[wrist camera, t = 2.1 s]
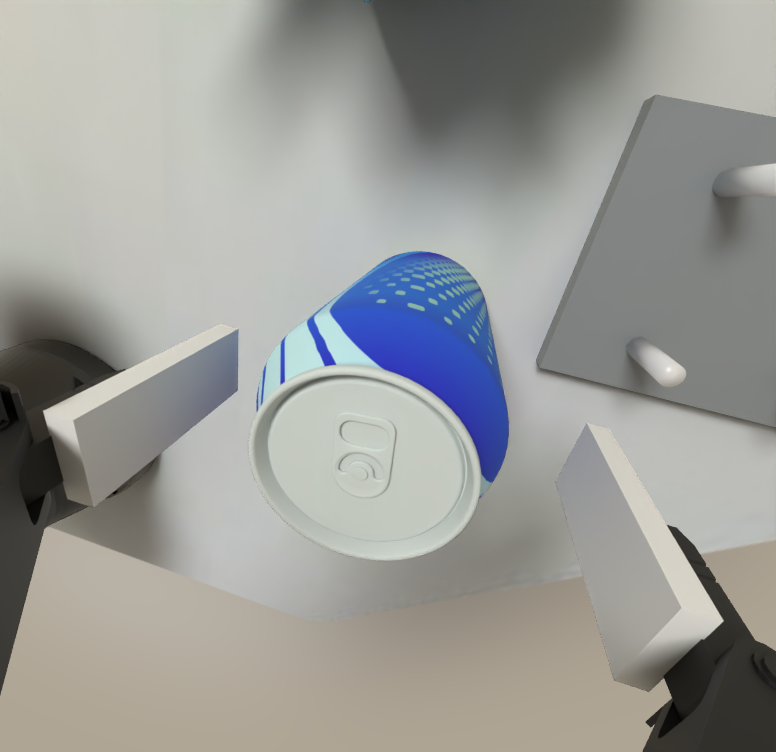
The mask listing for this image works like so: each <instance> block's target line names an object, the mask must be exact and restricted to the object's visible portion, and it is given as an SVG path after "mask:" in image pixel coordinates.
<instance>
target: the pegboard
mask: <svg viewBox="0 0 776 752" xmlns="http://www.w3.org/2000/svg"><path fill="white" fill-rule="evenodd" d="M536 361H537V363H538V365H539V368H543V369H547V370H551V371H555V372H559V373H563V374H567V375H571V376H575V377H579V378H583V379H587V380H591V381H595V382H599V383H602V384H606V385H610V386H614V387H618V388H622V389H626V390H630V391H634V392H638V393H642V394H646V395H650V396H654V397H658V398H662V399H666V400H670V401H673V402H677V403H681V404H685V405H689V406H693V407H697V408H701V409H705V410H709V411H713V412H717V413H721V414H725V415H729V416H733V417H737V418H741V419H744V420H748V421H752V422H756V423H760V424H764V425H768V426H772V427H776V117H770V116H765V115H760V114H755V113H749V112H744V111H739V110H734V109H728V108H723V107H718V106H713V105H707V104H702V103H697V102H692V101H687V100H681V99H676V98H671V97H666V96H660V95H655V96H653V97H651V98H649V99H647V100H645V101H644V104H643V106H642V109H641V111H640V113H639V116H638V118H637V121H636V123H635V125H634V128H633V130H632V133H631V135H630V137H629V140H628V142H627V144H626V147H625V149H624V152H623V154H622V156H621V159H620V161H619V164H618V166H617V168H616V171H615V173H614V175H613V178H612V180H611V183H610V185H609V187H608V190H607V192H606V195H605V197H604V199H603V202H602V204H601V207H600V209H599V211H598V214H597V216H596V218H595V221H594V223H593V226H592V228H591V230H590V233H589V235H588V238H587V240H586V242H585V245H584V247H583V250H582V252H581V254H580V257H579V259H578V261H577V264H576V266H575V269H574V271H573V273H572V276H571V278H570V281H569V283H568V285H567V288H566V290H565V293H564V295H563V297H562V300H561V302H560V304H559V307H558V309H557V312H556V314H555V316H554V319H553V321H552V324H551V326H550V328H549V331H548V333H547V335H546V338H545V340H544V343H543V345H542V347H541V350H540V352H539V355H538V357H537V359H536Z"/></svg>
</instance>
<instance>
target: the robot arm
mask: <svg viewBox="0 0 776 752" xmlns="http://www.w3.org/2000/svg"><path fill="white" fill-rule="evenodd" d="M236 391H238V329H237V328H234V327H230V326H226V325H222V324H218V325H216V326H214V327H212V328H210V329H208V330H206V331H204V332H202V333H200V334H198V335H196V336H194V337H192V338H190V339H188V340H186V341H184V342H182V343H180V344H178V345H176V346H174V347H172V348H170V349H168V350H166V351H164V352H162V353H160V354H158V355H156V356H153V357H151V358H149V359H147V360H145V361H143V362H141V363H139V364H137V365H135V366H133V367H131V368H129V369H127V370H126V369H124V370H120V371H116V372H115V371H114V370H113V369H111V368H110V367H109V366H108V365H106V364H105V363H104V362H102V361H101V360H99V359H98V358H96V357H95V356H93V355H91V354H90V353H88V352H86V351H84V350H82V349H80V348H77V347H75V346H72V345H70V344H66V343H63V342H59V341H53V340H34V341H30V342H26V343H23V344H20V345H17V346H14V347H11V348H8V349H5V350H2V351H0V694H1V690H2V687H3V683H4V679H5V675H6V672H7V668H8V664H9V660H10V656H11V653H12V649H13V645H14V641H15V638H16V634H17V630H18V626H19V622H20V619H21V615H22V611H23V607H24V603H25V600H26V596H27V592H28V588H29V585H30V581H31V577H32V573H33V569H34V566H35V562H36V558H37V555H38V551H39V547H40V543H41V539H42V536H43V532H44V529H45V528H46V527H48V526H49V525H51V524H53V523H55V522H57V521H59V520H61V519H64V518H66V517H68V516H70V515H72V514H74V513H76V512H78V511H80V510H82V509H84V508H86V507H88V506H90V507H93V508H94V507H95V506H97V505H98V504H99V503H100V502H101V501H103V500H104V499H106V498H110V497H113V496H115V495H117V494H119V493H121V492H123V491H124V490H126V489H127V488H129V487H130V486H131V485H132V484H133V483H135V482H136V481H137V480H138V479H139V478H140V477H142V476H143V475H144V474H145V473H146V472H147V471H148V470H149V469H150V467H151V465H152V463H153V461H154V458H155V457H157V456H158V455H159V454H160V453H162V452H163V451H164V450H165V449H167V448H168V447H169V446H170V445H171V444H173V443H174V442H175V441H176V440H178V439H179V438H180V437H181V436H182V435H184V434H185V433H186V432H187V431H189V430H190V429H191V428H192V427H193V426H195V425H196V424H197V423H198V422H200V421H201V420H202V419H203V418H205V417H206V416H207V415H208V414H209V413H211V412H212V411H213V410H214V409H216V408H217V407H218V406H219V405H220V404H222V403H223V402H224V401H225V400H227V399H228V398H229V397H230V396H232V395H233V394H234V393H235V392H236ZM555 482H556V485H557V489H558V492H559V496H560V499H561V502H562V506H563V509H564V513H565V516H566V519H567V523H568V526H569V530H570V533H571V536H572V540H573V543H574V546H575V550H576V553H577V557H578V560H579V563H580V567H581V570H582V574H583V577H584V580H585V583H586V587H587V590H588V594H589V597H590V601H591V604H592V607H593V611H594V614H595V618H596V621H597V624H598V628H599V631H600V635H601V638H602V642H603V645H604V648H605V652H606V655H607V658H608V662H609V665H610V668H611V672H612V675H613V678H614V680H615V681H618V682H621V683H624V684H627V685H630V686H633V687H636V688H639V689H642V690H645V691H648V692H649V691H650V690H652V688H654V687H655V686H656V685H657V684H658V683H659V682H660V681H661V680H662V679H663V678H664V679H665V681H666V684H667V686H668V689H669V691H670V694H671V696H672V699H671V700H669V701H668V702H667V703H666V704H665V705H664V706H663V707H662V708H660V709H659V710H658V711H657V712H656V713H655V714H654V715H653V716H651V717H650V718H649V719H648V720H647V721H646V723H647V724H648V725H649V726H650V727H652V726H653V725H654V724H655V726H654V728H653V730H652V732H651V734H650V736H649V739H648V741H647V743H646V745H645V747H644V749H643V752H776V651H775V650H773V649H771V648H770V647H768V646H767V645H765V644H763V643H760V642H757V641H755V639H754V638H753V636H752V635H751V633H750V631H749V630H748V628H747V627H746V625H745V624H744V623H743V621H742V619H741V617H740V616H739V614H738V613H737V611H736V610H735V608H734V607H733V605H732V603H730V600H729V599H728V597H727V596H726V594H725V593H724V591H723V589H722V588H721V586H720V585H719V584H718V583H716V581H715V580H716V579H715V577H714V575H713V574H712V572H711V571H710V569H709V568H708V567H706V563H705V561H704V560H703V558H702V557H701V555H700V554H699V552H698V550H697V549H696V547H695V546H694V545H693V544H692V543H691V542H690V541H689V540H688V539H687V538H686V537H685V536H684V535H683V534H682V533H681V532H680V531H679V530H678V529H677V528H676V527H672V526H669V525H666V523H665V522H664V520H663V518H662V517H661V515H660V513H659V512H658V510H657V508H656V507H655V505H654V503H653V502H652V500H651V498H650V497H649V495H648V493H647V491H646V490H645V488H644V486H643V485H642V483H641V481H640V480H639V478H638V476H637V475H636V473H635V471H634V470H633V468H632V466H631V465H630V463H629V461H628V460H627V458H626V456H625V455H624V453H623V451H622V450H621V448H620V446H619V445H618V443H617V441H616V440H615V438H614V436H613V434H612V433H611V431H610V429H608V428H604V427H600V426H596V425H593V424H589V423H586V425H585V427H584V429H583V431H582V433H581V435H580V437H579V438H578V440H577V442H576V444H575V446H574V448H573V450H572V452H571V453H570V455H569V457H568V459H567V461H566V463H565V465H564V466H563V468H562V470H561V472H560V474H559V476H558V478H557V480H556V481H555Z"/></svg>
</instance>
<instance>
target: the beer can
mask: <svg viewBox="0 0 776 752" xmlns="http://www.w3.org/2000/svg"><path fill="white" fill-rule="evenodd" d="M508 436H509V419H508V412H507V405H506V401H505V396H504V391H503V386H502V381H501V376H500V371H499V366H498V361H497V356H496V351H495V346H494V341H493V336H492V331H491V326H490V321H489V316H488V311H487V306H486V302H485V298H484V295H483V293H482V291H481V289H480V287H479V285H478V283H477V282H476V280H475V279H474V278H473V277H472V275H471V274H470V273H469V272H468V271H467V270H466V269H465V268H463V267H462V266H461V265H460V264H458V263H457V262H455V261H453V260H451V259H450V258H447V257H445V256H443V255H439V254H436V253H431V252H422V251H417V252H407V253H402V254H399V255H396V256H393V257H391V258H389V259H387V260H385V261H383V262H382V263H380V264H379V265H377V266H376V267H375V268H373V269H372V270H371V271H370V272H368V273H367V274H366V275H364V276H363V277H362V278H360V279H359V280H358V281H356V282H355V283H354V284H352V285H351V286H350V287H349V288H347V289H346V290H345V291H343V292H342V293H341V294H339V295H338V296H337V297H335V298H334V299H333V300H331V301H330V302H329V303H327V304H326V305H325V306H324V307H322V308H321V309H320V310H318V311H317V312H316V313H314V314H313V315H312V316H310V317H309V318H308V319H306V320H305V321H304V322H302V323H301V324H300V325H299V326H297V327H296V328H295V329H293V330H292V331H291V332H290V333H289V334H288V335H287V336H286V337H285V338H284V339H283V340H282V341H281V342H280V344H279V345H278V346H277V347H276V348H275V350H274V351H273V353H272V354H271V356H270V357H269V359H268V361H267V363H266V365H265V367H264V370H263V373H262V376H261V379H260V383H259V387H258V393H257V413H256V415H255V417H254V420H253V423H252V425H251V430H250V434H249V443H248V453H249V461H250V466H251V470H252V473H253V476H254V479H255V481H256V483H257V485H258V488H259V489H260V491H261V493H262V495H263V496H264V498H265V499H266V501H267V502H268V504H269V505H270V506H271V507H272V509H273V510H274V511H275V512H276V513H277V514H278V515H279V516H280V517H281V518H282V519H283V520H284V521H285V522H286V523H287V524H288V525H289V526H291V527H292V528H293V529H294V530H296V531H297V532H298V533H300V534H301V535H303V536H304V537H306V538H307V539H309V540H311V541H313V542H314V543H316V544H318V545H320V546H322V547H325V548H327V549H329V550H332V551H334V552H337V553H340V554H343V555H347V556H351V557H355V558H360V559H367V560H378V561H393V560H403V559H410V558H414V557H418V556H422V555H424V554H427V553H430V552H432V551H434V550H437V549H439V548H440V547H442V546H444V545H446V544H447V543H448V542H450V541H451V540H453V539H454V538H455V537H456V536H457V535H458V534H459V533H460V532H461V531H462V530H463V529H464V528H465V526H466V525H467V523H468V522H469V521H470V519H471V517H472V515H473V513H474V511H475V509H476V507H477V504H478V501H479V498H480V497H481V496H482V495H483V494H484V493H485V492H486V491H487V490H488V488H489V487H490V485H491V484H492V483H493V481H494V480H495V478H496V476H497V474H498V472H499V470H500V468H501V466H502V463H503V460H504V458H505V454H506V450H507V444H508Z"/></svg>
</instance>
